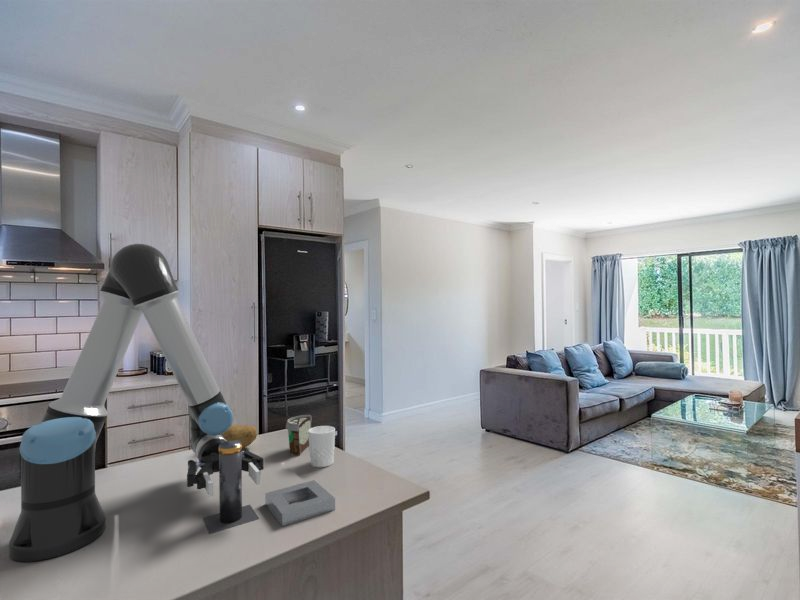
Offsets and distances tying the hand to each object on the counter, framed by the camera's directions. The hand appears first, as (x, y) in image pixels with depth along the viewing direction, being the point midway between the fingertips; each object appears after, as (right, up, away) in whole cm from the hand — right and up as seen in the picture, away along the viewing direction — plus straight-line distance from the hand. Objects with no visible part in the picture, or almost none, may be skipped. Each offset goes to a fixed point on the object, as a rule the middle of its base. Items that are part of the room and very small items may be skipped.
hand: (235, 483), depth 86 cm
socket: (+11, -10, +8) cm, 17 cm away
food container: (0, -11, +49) cm, 50 cm away
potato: (-20, -12, +51) cm, 56 cm away
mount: (-2, -10, +4) cm, 11 cm away
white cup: (+11, -11, +37) cm, 40 cm away
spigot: (-2, -9, +4) cm, 10 cm away
